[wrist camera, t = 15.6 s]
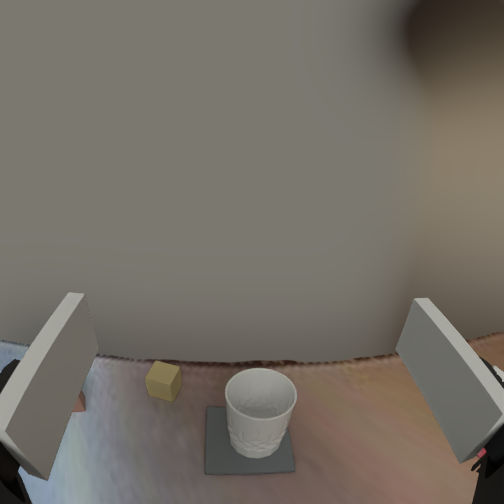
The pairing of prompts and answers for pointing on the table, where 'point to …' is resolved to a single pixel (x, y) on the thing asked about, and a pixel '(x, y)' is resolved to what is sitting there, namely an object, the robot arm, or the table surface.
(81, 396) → the brick-red long block
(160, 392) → the mustard block
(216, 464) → the slate coaster
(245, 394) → the white cup
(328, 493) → the table surface
